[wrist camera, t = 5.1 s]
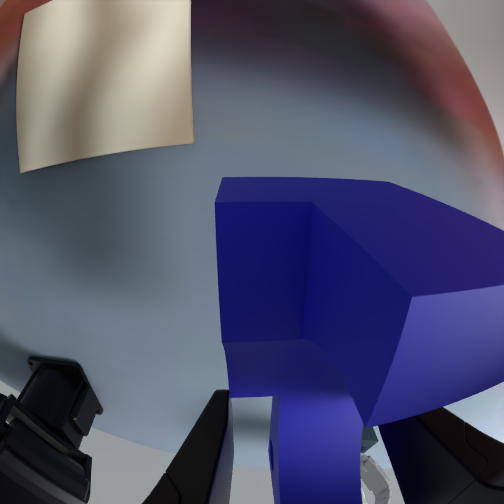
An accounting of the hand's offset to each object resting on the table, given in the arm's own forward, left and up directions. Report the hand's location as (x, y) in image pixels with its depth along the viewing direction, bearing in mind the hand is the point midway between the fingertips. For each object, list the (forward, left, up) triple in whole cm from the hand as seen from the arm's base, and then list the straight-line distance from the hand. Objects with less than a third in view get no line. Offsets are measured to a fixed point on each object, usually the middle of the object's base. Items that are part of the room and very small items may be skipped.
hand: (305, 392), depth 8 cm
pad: (-10, +13, -11) cm, 20 cm away
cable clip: (0, 0, -2) cm, 2 cm away
